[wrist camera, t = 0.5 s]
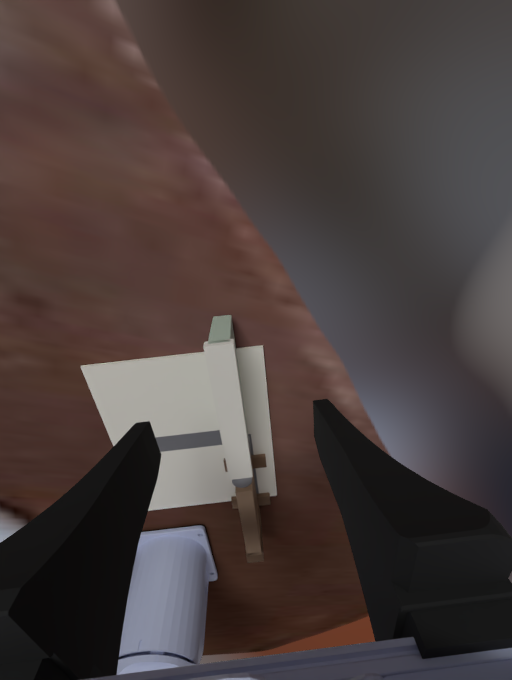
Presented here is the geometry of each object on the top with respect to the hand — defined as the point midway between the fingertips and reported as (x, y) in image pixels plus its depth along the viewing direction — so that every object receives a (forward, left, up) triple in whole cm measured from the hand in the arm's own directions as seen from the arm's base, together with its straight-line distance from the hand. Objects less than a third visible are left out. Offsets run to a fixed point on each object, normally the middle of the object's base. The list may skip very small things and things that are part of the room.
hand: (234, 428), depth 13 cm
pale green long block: (-4, +1, -8) cm, 9 cm away
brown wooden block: (-14, +1, -9) cm, 17 cm away
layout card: (-9, +5, -9) cm, 13 cm away
